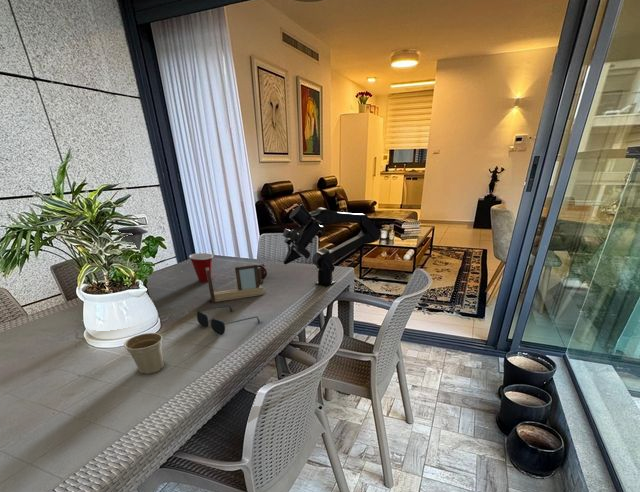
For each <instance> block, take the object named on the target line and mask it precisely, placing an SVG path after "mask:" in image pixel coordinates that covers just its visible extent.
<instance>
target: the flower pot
mask: <svg viewBox="0 0 640 492" xmlns="http://www.w3.org/2000/svg"><path fill="white" fill-rule="evenodd" d="M162 341H163V335H161V334H160V333H156V332H145V333H141V334H138V335H135V336H132V337H130V338H128V339H127V340H126V341H124V343H123V348H124V349H126V350H127V352H128V353H129V354H130V356H131V358H132V359H133V362H134V363H135V365H136V367H137V369H138V372H140V374H147V375H150V374H154V373H157V372H160V370H161V369H162V368H164V357H163V352H162V351H163V350H162V345H163V342H162Z"/></svg>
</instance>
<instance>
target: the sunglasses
mask: <svg viewBox="0 0 640 492" xmlns="http://www.w3.org/2000/svg"><path fill="white" fill-rule="evenodd" d="M227 307H229V311H230V312H231V313H232V312H233V309H232V307H231V305H229V304H227V305H223V306H217V307H216V306H215V307H211V308H207V309H201V310H197V311H196V319H197V322H198V324H199V325H200V326H201V327H203V328H208V327H209V326H210V327H211V330H212V332H214V333H215V334H216V335H219V336H222V335H224V334H225V333H226V326H225V325H228V324H233V323H238V322H241V321H246V320H251V319H254V318H256V320H257V323H258V324H260V319H259V317H258V316H256V315H255V316H251V317H247V318H243V319H238V320H234V321H230V322H226V323H225V322H224V321H222V320H219V319H216V318H211V319H209V317H208V315H207V314H205V313H203V312H204V311H210V310H215V309H220V308H227Z"/></svg>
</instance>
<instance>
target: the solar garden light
mask: <svg viewBox="0 0 640 492" xmlns="http://www.w3.org/2000/svg"><path fill="white" fill-rule="evenodd" d="M117 230H118V231H119V232H121V233H132V234H133V235H128V236H125V237H123V238H122V239H121V240H120V242H121V241H126V242H133V243H135V245H136V247H137V249H140V250H141V245H142V241H143V235H144V234H147V233H148V232H149V231H148V230H146V229H144V228H141V227H139V226H125V227H119V228H118V229H117ZM127 247H131V246H127ZM145 287H146V288H147V292H148V295H149V297H150V298H151V296H150V293H149V289H148V284H147V282H146V283H145Z"/></svg>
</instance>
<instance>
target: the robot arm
mask: <svg viewBox="0 0 640 492" xmlns="http://www.w3.org/2000/svg"><path fill="white" fill-rule="evenodd" d="M289 218H290V219H291V220H292V221H293V222H294V223H296V225H298V227H300V228H301V227H303V229H301V230H295V229H291V230H290V229H287V228H284V231H283V233H282V237H284V238H285V240H284V243H285V244H286V246H287V252H286V255H285V257H284V260H283V265H285V266H286V265H288V264H290V263H291V262H294V261H296V260H298V259H300V258H303V257H304V258H305V259H306V260H309V258H310V257H311V252H310V251H309V250H308V249H307V247H308V246H309V245H310V244H313V243H314V241H313V240H314V238H315V237H316V236H317V235H318V234H319V232H320V233H322V234H325V233H326V232H325V226H324V225H328V224H333V223H334V224H335V223H351V224H358V226H359V229H360V232H359V233H358V234H357V235H356V236H354V237H352V238H350V239H348V240H346V241H344V242H342V243H341V244H338V245H336V246H334V247H332V248H331V249H327V248H325V247H322V248H321V249H319V250H315V253H314V254H313V255H312V259H311V261H312V263H313V265H314V266H315V267H316V269H318V270H317V281H316V282H315V284H316V285H320V286H324V287H328V286H330V285H333V284H335V283H336V281H335V280H333V272H335V269H336V267H335V265H334V264H333V263H334V262H335V260H336V259H339V258H340V257H342V256H344V255H346V254H347V253H349V252H352V251H353V250H355V249H357V248H359V247H361V246H363V245H368V244H373V243H376V242H378V241H380V239H381V237H382V232H381V230H380V229H379V228H377V226H376V225H375V224H374V223H373V221H371V219H370V218H369V216H368V215H367V214H366V213H365V214H364V213H352V212H341V211H334V210H331V209H327V208H324V207H317V209H315V211H314V210H313V211H309V210H307V209H306V207H305V205H303V204H301V203H300V204H299V205H298V206H297V207H296V208H294V209H293V210H292V211H291V212H290V214H289ZM313 220H315V221H313ZM320 224H322V225H320Z"/></svg>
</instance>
